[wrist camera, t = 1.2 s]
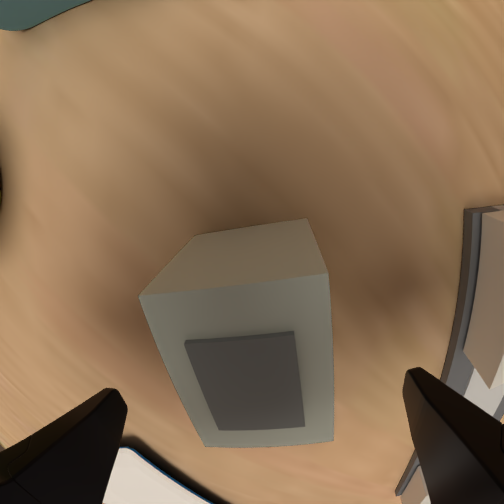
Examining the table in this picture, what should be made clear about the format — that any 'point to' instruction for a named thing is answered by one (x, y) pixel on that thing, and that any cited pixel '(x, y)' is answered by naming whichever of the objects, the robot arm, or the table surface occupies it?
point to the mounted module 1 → (416, 490)
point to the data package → (31, 12)
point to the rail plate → (465, 335)
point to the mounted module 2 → (489, 305)
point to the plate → (145, 483)
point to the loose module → (248, 335)
